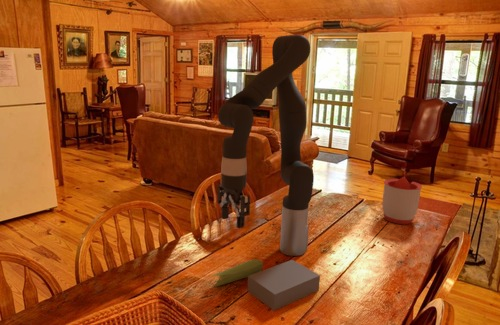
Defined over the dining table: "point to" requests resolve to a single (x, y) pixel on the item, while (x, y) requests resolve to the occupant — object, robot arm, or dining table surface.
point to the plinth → (283, 284)
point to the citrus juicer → (400, 200)
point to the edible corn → (239, 272)
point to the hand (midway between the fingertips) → (232, 222)
